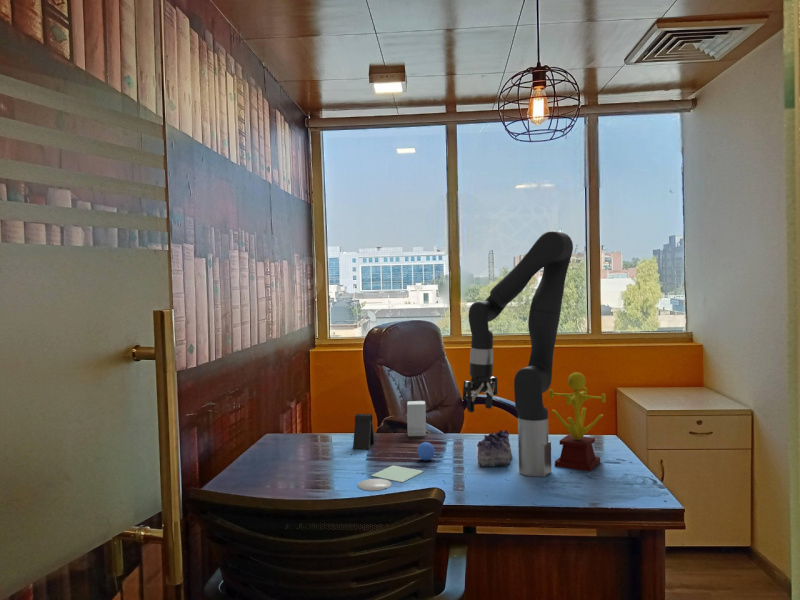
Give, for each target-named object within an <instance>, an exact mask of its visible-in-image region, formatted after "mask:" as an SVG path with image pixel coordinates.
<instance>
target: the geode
mask: <svg viewBox="0 0 800 600" xmlns="http://www.w3.org/2000/svg"><path fill="white" fill-rule="evenodd" d="M509 435H510V433H509V431H508V430H507V429H505V430H504V431H503V430H502V429H500V430H499V431H497V432H496V433H494V432H491V433H488V435H487V434H485V435H483V436H484V437H483V438H484V439H482V440H480V441H478V443H477V445H476V446H477V456H476V457H477V465H478V466H480V467H481V468H485V467H496V466H497V467H498V466H499V467H500V466H503V467H504V466H509V465H511V462H510V461H511V460H513V453H512V449H511V444H510V438H509V437H510V436H509Z"/></svg>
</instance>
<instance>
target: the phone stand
mask: <svg viewBox="0 0 800 600" xmlns="http://www.w3.org/2000/svg"><path fill="white" fill-rule="evenodd" d="M353 429H354V431H353V441H352V442H353V443H352V444H353V445H352V450H360V451H362V450H363V451H369V450H371V449H372V448H373V447H374V446H375V445H376V437H375V431H374V423H373V415H372V414H371V413H355V415H354V428H353Z"/></svg>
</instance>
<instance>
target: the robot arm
mask: <svg viewBox="0 0 800 600" xmlns="http://www.w3.org/2000/svg"><path fill="white" fill-rule="evenodd" d="M573 251H574V243H573V241H572V238H571V237H570V236H569V235H568V234H567V233H565V232H562V231H556V230H555V231H554V230H551V231H546V232H544V233H542V234H541V235H540V236H539V237H538V238H537V240H536V241H535V242H534V244H533V245H532V246H531V247H530V249H529V250H528V252H527V253H526V254H525V255H524V256H523V258H522V259H521V260H520V261H519V262H518V263H517V265H515V267H513V268H512V269H511V271H509V272H508V273H507V274H506V275H505V276H504V277H503V278H501V280H499V282H498V283H496V284H495V285H494V287H492V289H491V290H490V292H489V296H487V298H486V299H484V300H481V301H475V302H473V303H471V306H470V307H469V309H468V323H469V329H470V332H471V344H470V346H471V347H470V353H469V375H470V377H471V379H470V380H463V387H462V399H464V400H466V401H467V405H466V409H467V412H469V413H475V400H476V397H477V396H478V395H479V394H481V393H484V394H485V402H484V404H485V405H484V407H485V409H488V410H489V409H492V407H493V398H494V396H497V395H498V377H495V376H493V373H494V349H493V348H494V334H493V332H492V331H491V330H489V322H491V321H494V320H495V319H496V318H497V317H498V316H499V315H500V314H502V312H503V311H504V309H505V308H506V307H507V305H508V304H510V303H511V302H512V301H514V299H515V298H516V297H517V296H519V294H521V292H522V291H523V290H524V289H525V288H526V287H527V285H528V284H529V283H530V281H531V279H532V278H533V277H534V276H535V275H536V274H537V273H538V272H539V271H540V270H541V269H543V270H542V275H541V279H540V282H539V283H538V286H537V287H536V290H535V292H534V295H533V297H532V300H531V303H530V307H529V312H528V320H527V324H528V325H527V327H528V328H527V329H528V333H529V340H530V344H531V350H530V356H529V361H528V365H527V366H526V367H523V368H521V369H519V370H518V371H517V372H516V373H515V376H514V379H513V386H514V387H513V389H514V406H515V410H516V412H517V430H518V435H517V436H518V437H517V440H518V446H517V447H518V473H520V474H521V475H524V476H528V477H543V478H544V477H546V476H547V475H549V474H551V472H552V442H551V441H550V440H549V410H548V408H547V407H545V406H544V402H543V394H544V393H546V392H547V391H548V390H550V386H551V385H552V379H553V364H554V363H553V361H554V352H555V351H554V350H555V345H556V340H557V336H558V331H559V330H558V328H559V324H560V319H561V312H562V304H563V298H564V290H565V285H566V284H565V283H566V277H567V273H568V271H569V266H570V262H571V259H572V255H573Z"/></svg>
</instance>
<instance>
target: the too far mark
mask: <svg viewBox="0 0 800 600" xmlns="http://www.w3.org/2000/svg"><path fill="white" fill-rule="evenodd" d="M357 487H358V488H359V489H361V490H364V491H373V492H375V491H382V490H386V489H385V488H387V489H389V488H390V487H392V482H391V480H388V479H383V478H370V479H364V480H361V481H359V482H358V484H357ZM388 487H389V488H388Z"/></svg>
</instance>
